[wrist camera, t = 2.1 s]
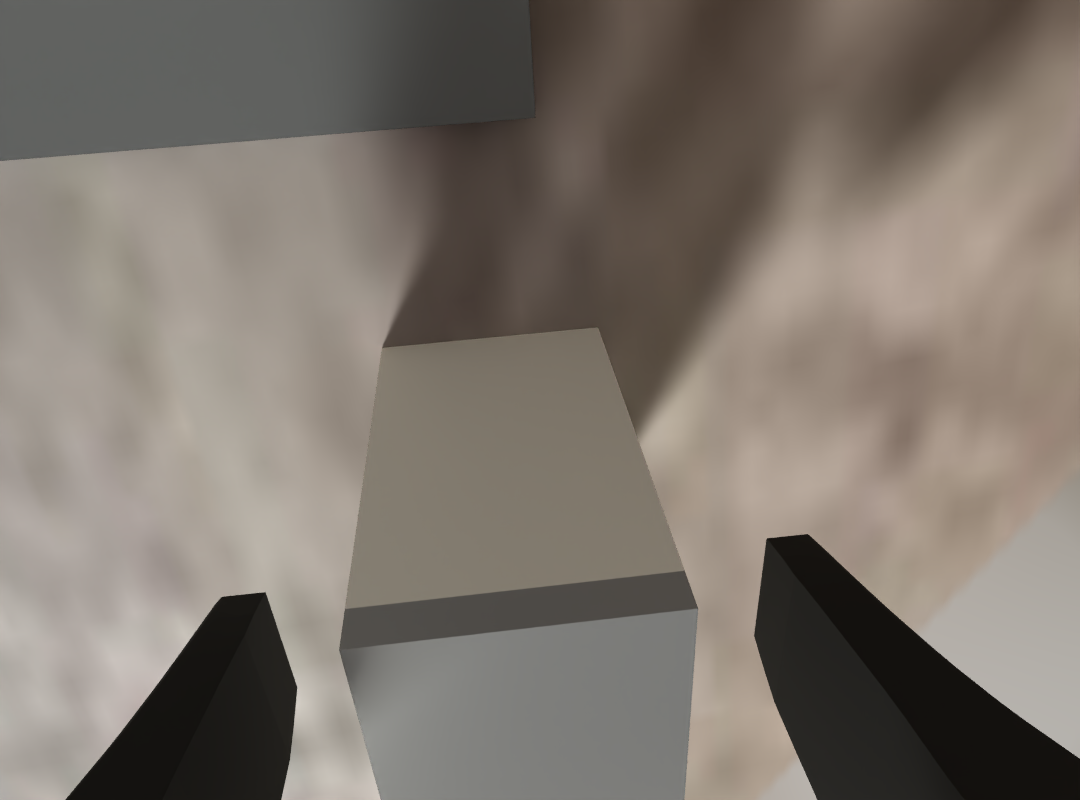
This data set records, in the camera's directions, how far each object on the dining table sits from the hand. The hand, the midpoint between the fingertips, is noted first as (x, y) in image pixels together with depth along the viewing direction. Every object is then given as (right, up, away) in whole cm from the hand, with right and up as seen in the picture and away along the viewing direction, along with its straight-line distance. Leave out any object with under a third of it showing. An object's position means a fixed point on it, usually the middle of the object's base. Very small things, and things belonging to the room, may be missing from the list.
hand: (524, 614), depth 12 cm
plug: (-1, +3, +4) cm, 5 cm away
